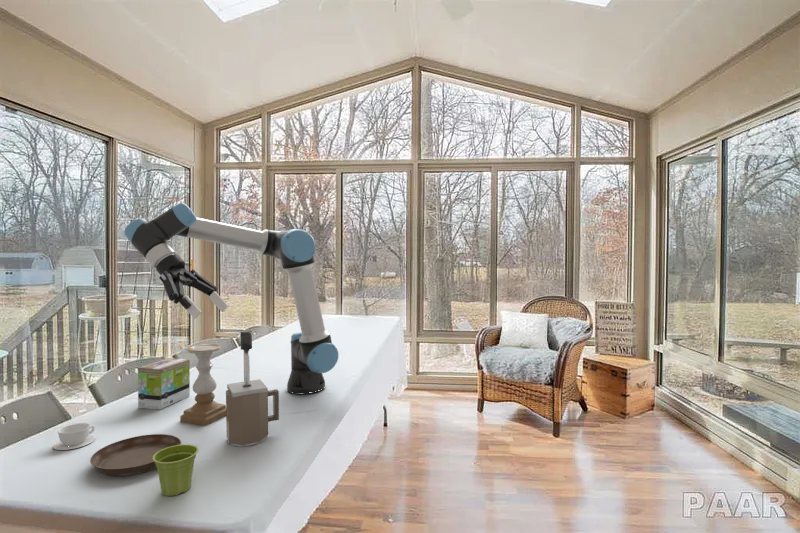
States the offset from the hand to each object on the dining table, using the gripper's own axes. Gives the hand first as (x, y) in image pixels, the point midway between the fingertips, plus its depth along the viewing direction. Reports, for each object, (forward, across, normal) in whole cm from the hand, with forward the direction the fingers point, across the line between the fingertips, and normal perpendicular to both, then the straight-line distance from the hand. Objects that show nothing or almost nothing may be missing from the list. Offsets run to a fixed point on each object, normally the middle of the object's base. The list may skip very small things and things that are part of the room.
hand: (212, 312), depth 129 cm
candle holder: (+19, -13, -35) cm, 42 cm away
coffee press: (+35, -1, -18) cm, 40 cm away
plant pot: (+33, +28, -21) cm, 48 cm away
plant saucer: (+19, +17, -35) cm, 43 cm away
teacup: (0, +11, -54) cm, 55 cm away
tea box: (+2, -24, -52) cm, 57 cm away
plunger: (+27, 0, -12) cm, 30 cm away
